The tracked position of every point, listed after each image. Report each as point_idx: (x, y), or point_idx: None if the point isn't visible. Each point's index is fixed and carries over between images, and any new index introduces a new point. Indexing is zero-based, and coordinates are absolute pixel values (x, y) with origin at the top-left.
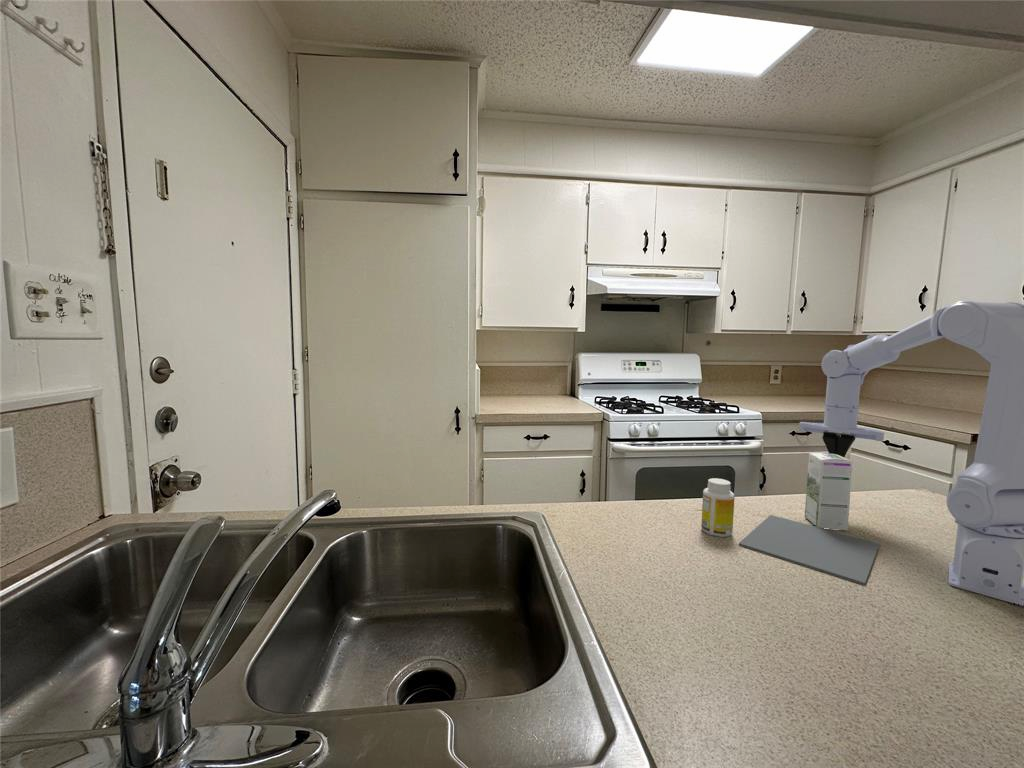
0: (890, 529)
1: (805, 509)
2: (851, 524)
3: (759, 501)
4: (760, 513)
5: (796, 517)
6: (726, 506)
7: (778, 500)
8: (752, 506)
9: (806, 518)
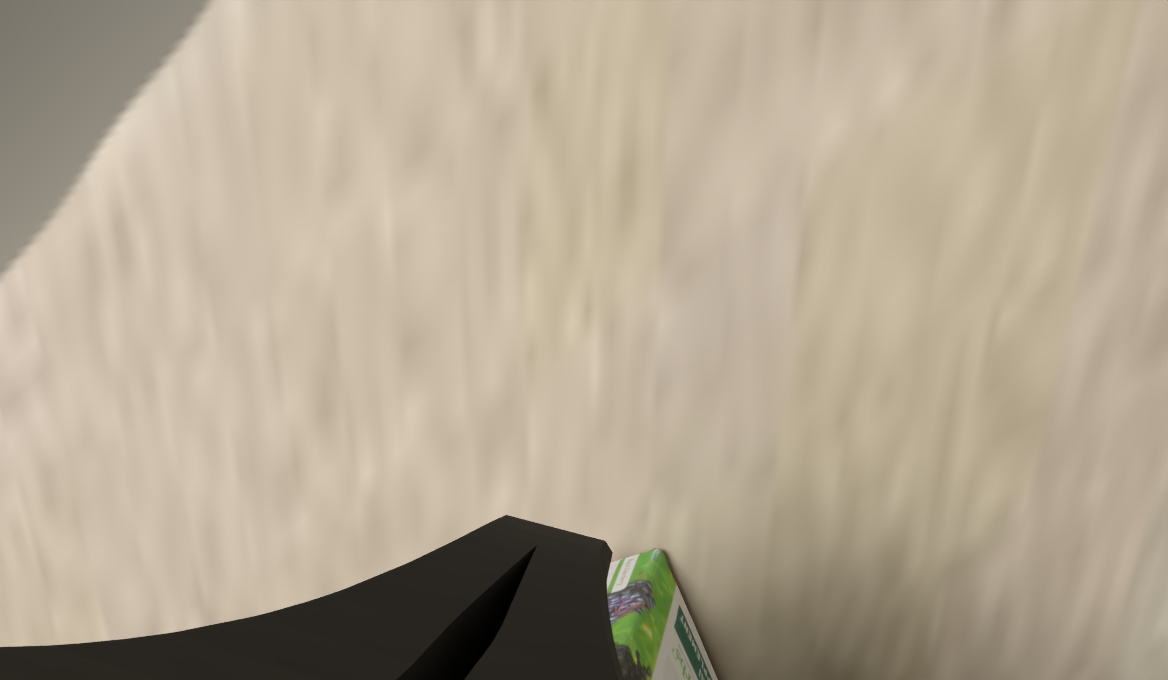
0: (1116, 510)
1: None
2: (795, 561)
3: (99, 363)
4: None
5: None
6: None
7: (218, 216)
8: (89, 539)
9: None
